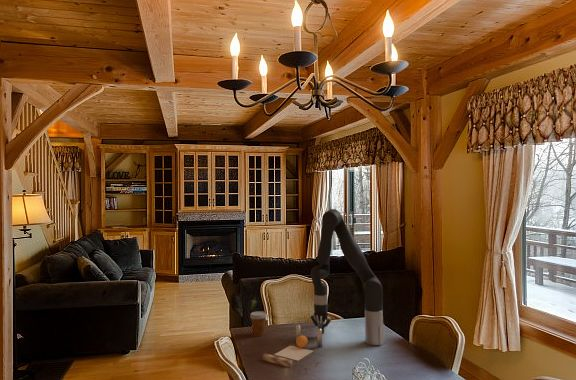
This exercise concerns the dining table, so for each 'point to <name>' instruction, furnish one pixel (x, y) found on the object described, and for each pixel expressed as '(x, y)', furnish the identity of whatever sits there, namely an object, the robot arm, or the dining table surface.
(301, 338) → the ball
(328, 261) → the robot arm
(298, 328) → the far post
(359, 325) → the dining table surface
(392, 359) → the dining table surface
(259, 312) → the disposable coffee cup
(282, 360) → the stopper wall
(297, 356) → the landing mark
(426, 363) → the dining table surface
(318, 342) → the near post
